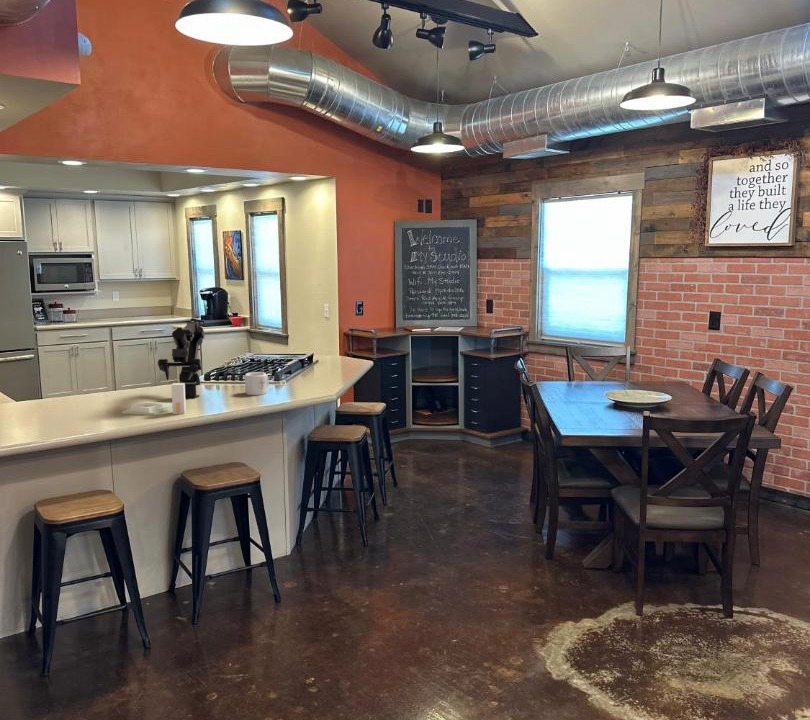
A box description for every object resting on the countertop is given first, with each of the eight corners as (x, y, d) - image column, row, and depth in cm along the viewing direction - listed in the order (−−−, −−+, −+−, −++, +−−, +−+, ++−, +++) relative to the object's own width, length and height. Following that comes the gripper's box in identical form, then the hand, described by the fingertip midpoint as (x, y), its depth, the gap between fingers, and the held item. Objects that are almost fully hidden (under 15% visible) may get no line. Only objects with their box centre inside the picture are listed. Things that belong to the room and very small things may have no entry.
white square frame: (145, 406, 311) (145, 401, 310) (162, 407, 308) (162, 403, 308) (131, 410, 302) (130, 406, 301) (149, 412, 299) (148, 407, 299)
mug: (255, 396, 340) (254, 376, 338) (240, 393, 346) (240, 374, 344) (275, 392, 350) (275, 373, 349) (261, 389, 357) (261, 370, 355)
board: (144, 404, 320) (144, 402, 320) (175, 405, 318) (175, 403, 318) (122, 413, 300) (122, 411, 300) (154, 415, 298) (154, 412, 298)
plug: (174, 411, 305) (173, 383, 303) (185, 411, 306) (184, 383, 304) (172, 414, 300) (171, 385, 298) (184, 414, 301) (183, 385, 299)
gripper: (157, 341, 310) (152, 370, 301) (199, 341, 312) (196, 369, 303) (162, 355, 319) (157, 383, 310) (203, 355, 321) (200, 383, 312)
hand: (177, 379), depth 309 cm, fingers open, 9 cm apart
